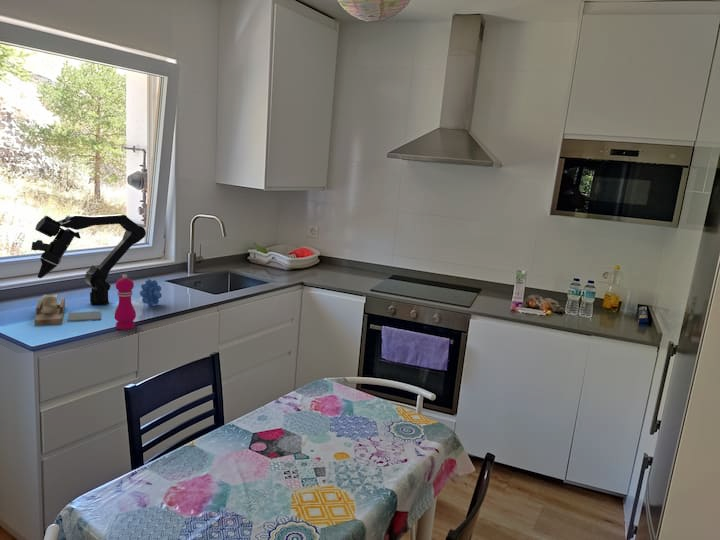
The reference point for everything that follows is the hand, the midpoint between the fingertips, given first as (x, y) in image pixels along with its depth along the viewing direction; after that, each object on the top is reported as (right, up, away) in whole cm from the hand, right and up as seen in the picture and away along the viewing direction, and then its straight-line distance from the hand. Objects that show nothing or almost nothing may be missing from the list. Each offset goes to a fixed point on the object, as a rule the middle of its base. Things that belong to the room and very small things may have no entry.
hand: (39, 277), depth 201 cm
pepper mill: (+39, -18, -11) cm, 44 cm away
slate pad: (+19, -15, -3) cm, 24 cm away
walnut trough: (+7, -15, -3) cm, 16 cm away
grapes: (+37, -13, +19) cm, 43 cm away
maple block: (+7, -13, -5) cm, 16 cm away
